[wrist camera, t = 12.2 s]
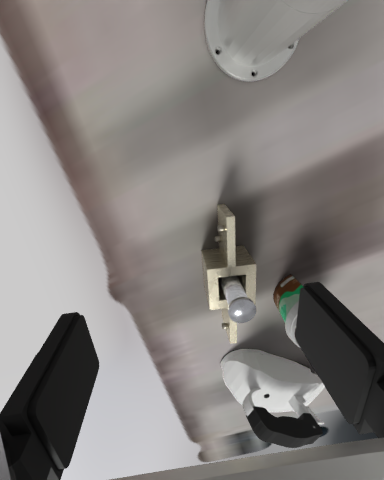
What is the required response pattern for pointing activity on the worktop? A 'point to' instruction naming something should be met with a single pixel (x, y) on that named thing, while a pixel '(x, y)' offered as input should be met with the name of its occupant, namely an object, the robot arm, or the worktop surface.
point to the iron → (274, 395)
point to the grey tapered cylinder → (237, 300)
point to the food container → (288, 303)
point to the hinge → (227, 269)
